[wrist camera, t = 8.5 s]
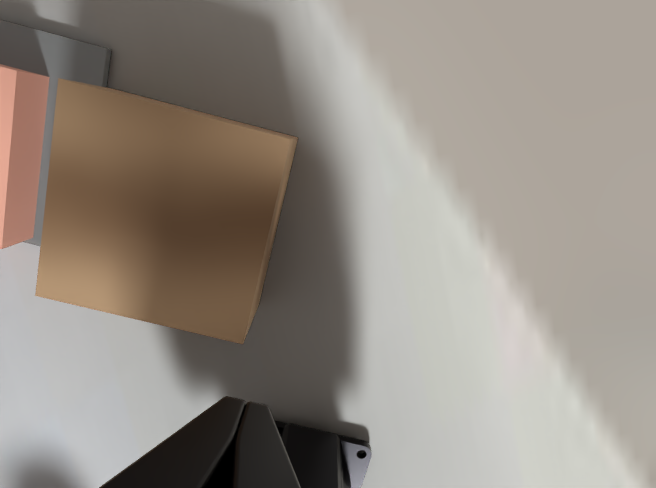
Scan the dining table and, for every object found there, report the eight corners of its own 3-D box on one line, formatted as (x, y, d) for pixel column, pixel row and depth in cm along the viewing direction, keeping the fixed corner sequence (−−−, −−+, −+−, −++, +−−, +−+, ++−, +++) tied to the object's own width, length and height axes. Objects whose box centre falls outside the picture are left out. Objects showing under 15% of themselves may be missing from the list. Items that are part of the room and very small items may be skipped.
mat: (84, 253, 21) (80, 255, 20) (-82, 213, 20) (-90, 214, 20) (111, 50, 19) (106, 48, 18) (-74, 0, 18) (-83, -3, 18)
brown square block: (258, 305, 21) (243, 344, 17) (90, 264, 21) (35, 295, 17) (298, 137, 19) (290, 139, 16) (113, 89, 19) (58, 78, 15)
